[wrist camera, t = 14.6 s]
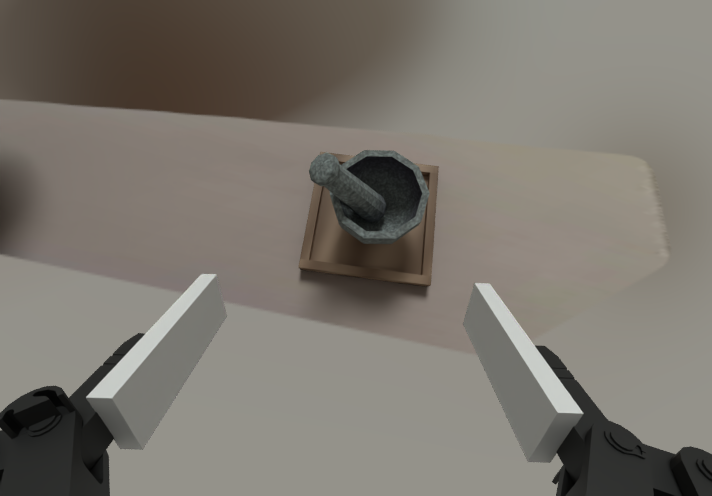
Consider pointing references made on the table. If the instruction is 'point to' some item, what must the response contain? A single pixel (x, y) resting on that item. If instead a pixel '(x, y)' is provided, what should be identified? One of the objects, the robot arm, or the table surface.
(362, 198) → the mortar and pestle
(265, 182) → the table surface
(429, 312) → the table surface
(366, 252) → the walnut tray
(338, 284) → the table surface
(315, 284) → the table surface
